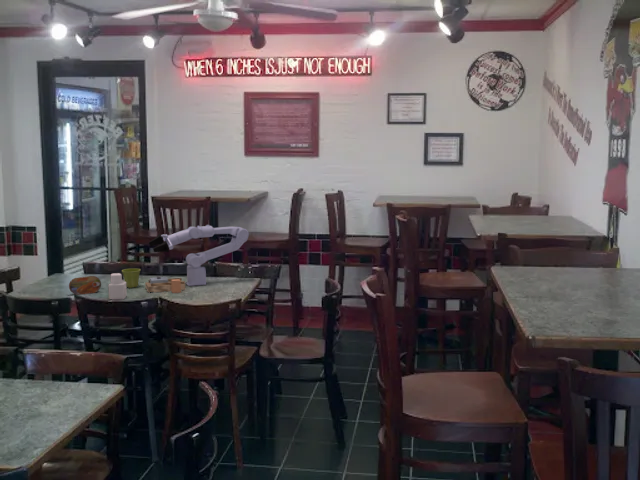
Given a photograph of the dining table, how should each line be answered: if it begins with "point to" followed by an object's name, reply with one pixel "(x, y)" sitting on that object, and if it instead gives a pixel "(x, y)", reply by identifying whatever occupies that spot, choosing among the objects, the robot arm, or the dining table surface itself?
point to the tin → (84, 285)
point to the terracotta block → (176, 286)
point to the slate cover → (158, 280)
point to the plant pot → (131, 277)
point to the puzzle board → (162, 286)
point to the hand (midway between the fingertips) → (151, 247)
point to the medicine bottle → (117, 286)
